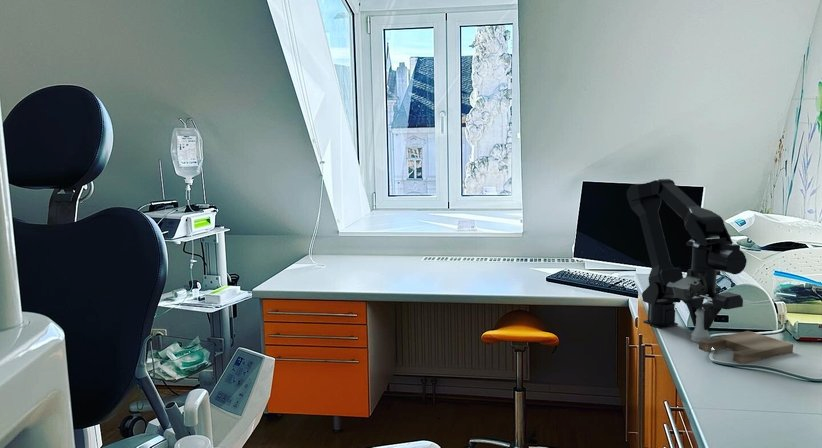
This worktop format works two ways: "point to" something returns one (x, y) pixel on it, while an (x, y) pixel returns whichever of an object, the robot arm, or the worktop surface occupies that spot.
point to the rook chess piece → (699, 327)
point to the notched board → (748, 346)
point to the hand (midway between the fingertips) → (701, 328)
